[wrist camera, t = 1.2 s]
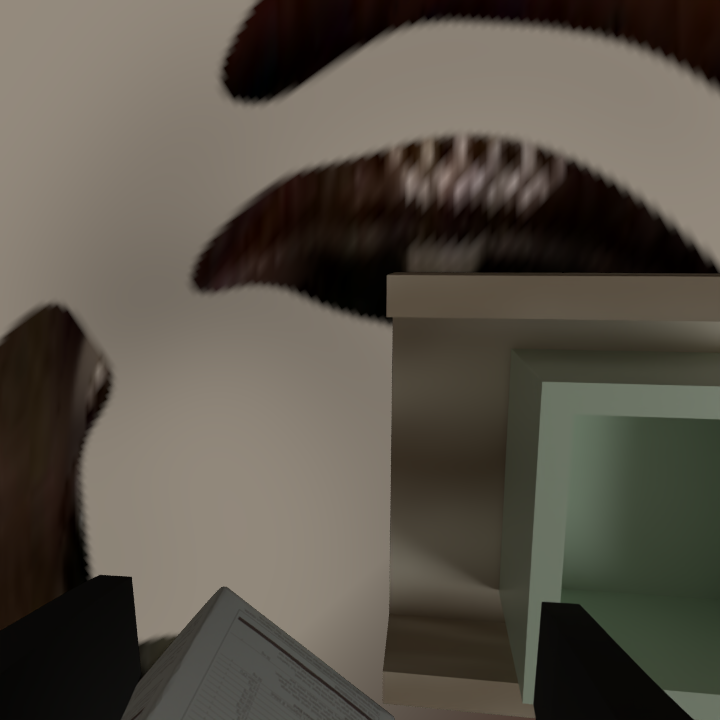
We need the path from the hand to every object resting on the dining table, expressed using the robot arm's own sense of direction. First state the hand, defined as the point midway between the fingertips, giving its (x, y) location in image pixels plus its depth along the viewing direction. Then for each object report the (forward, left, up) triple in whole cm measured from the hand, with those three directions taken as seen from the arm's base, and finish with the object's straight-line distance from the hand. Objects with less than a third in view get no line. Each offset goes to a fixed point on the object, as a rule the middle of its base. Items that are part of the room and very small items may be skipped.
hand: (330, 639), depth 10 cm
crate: (-1, -8, -10) cm, 13 cm away
